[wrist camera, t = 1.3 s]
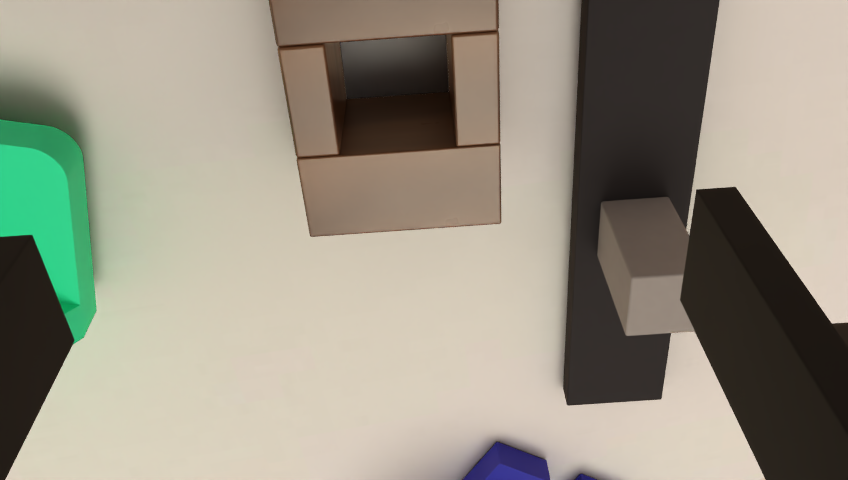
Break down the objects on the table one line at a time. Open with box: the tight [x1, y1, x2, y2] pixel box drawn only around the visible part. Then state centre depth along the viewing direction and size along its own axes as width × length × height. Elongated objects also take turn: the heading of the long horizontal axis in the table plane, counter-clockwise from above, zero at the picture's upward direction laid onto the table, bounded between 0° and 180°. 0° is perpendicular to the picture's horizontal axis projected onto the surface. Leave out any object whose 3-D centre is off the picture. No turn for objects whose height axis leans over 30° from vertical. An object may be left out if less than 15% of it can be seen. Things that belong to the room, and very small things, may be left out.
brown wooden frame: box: [269, 0, 501, 237], centre depth 24 cm, size 9×6×4 cm, turn 4°
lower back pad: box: [563, 0, 719, 405], centre depth 27 cm, size 18×4×6 cm, turn 4°
